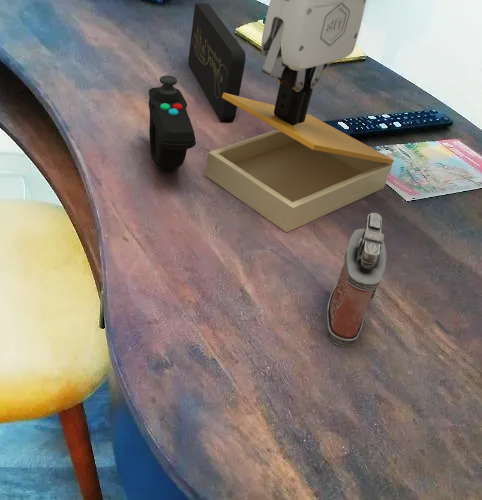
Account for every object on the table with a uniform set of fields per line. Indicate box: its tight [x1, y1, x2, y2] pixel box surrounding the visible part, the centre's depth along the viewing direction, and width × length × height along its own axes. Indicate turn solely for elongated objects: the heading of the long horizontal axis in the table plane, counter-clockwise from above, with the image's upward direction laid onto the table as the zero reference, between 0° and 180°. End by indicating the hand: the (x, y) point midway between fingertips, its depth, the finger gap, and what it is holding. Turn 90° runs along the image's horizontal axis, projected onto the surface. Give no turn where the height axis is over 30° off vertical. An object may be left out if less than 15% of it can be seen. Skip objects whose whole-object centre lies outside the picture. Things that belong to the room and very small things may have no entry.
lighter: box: [324, 212, 387, 348], centre depth 58 cm, size 8×3×10 cm, turn 161°
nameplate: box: [188, 2, 246, 121], centre depth 95 cm, size 21×2×10 cm, turn 10°
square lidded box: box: [204, 128, 393, 233], centre depth 78 cm, size 18×14×3 cm
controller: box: [148, 75, 197, 170], centre depth 77 cm, size 4×12×10 cm, turn 8°
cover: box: [222, 93, 395, 165], centre depth 75 cm, size 18×14×1 cm
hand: (288, 118), depth 71 cm, fingers closed
